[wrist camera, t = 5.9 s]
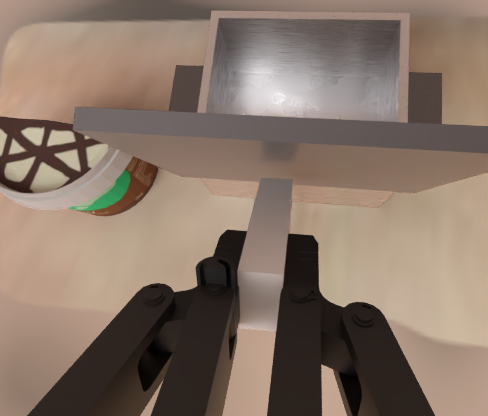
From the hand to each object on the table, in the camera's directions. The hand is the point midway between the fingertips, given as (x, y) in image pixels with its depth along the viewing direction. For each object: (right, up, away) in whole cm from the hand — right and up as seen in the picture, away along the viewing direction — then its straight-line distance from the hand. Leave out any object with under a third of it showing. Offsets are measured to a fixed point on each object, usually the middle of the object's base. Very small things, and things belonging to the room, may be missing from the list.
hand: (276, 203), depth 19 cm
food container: (-14, +1, +17) cm, 22 cm away
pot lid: (+1, +2, 0) cm, 2 cm away
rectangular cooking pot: (+3, +6, +16) cm, 17 cm away
